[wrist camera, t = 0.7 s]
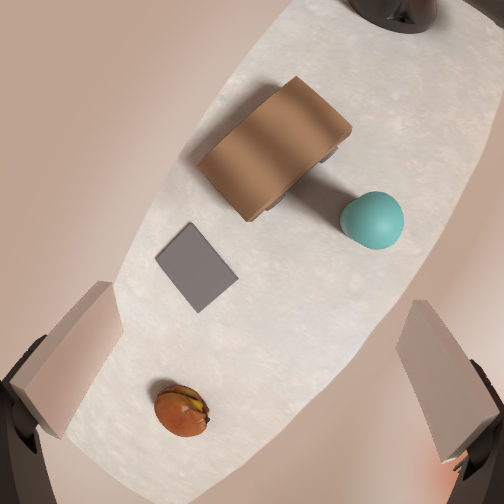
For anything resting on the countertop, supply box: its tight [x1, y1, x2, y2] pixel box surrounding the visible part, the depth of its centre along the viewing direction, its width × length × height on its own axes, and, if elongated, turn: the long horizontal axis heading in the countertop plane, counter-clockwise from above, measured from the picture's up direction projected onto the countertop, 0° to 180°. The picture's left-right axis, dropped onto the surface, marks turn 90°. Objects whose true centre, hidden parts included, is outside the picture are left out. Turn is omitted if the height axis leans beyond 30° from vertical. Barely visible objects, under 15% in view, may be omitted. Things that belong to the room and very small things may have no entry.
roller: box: [340, 192, 404, 249], centre depth 29 cm, size 5×5×12 cm
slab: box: [197, 76, 352, 222], centre depth 33 cm, size 16×9×6 cm, turn 131°
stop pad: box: [156, 223, 239, 313], centre depth 40 cm, size 8×10×1 cm
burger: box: [154, 386, 210, 437], centre depth 42 cm, size 10×9×5 cm
